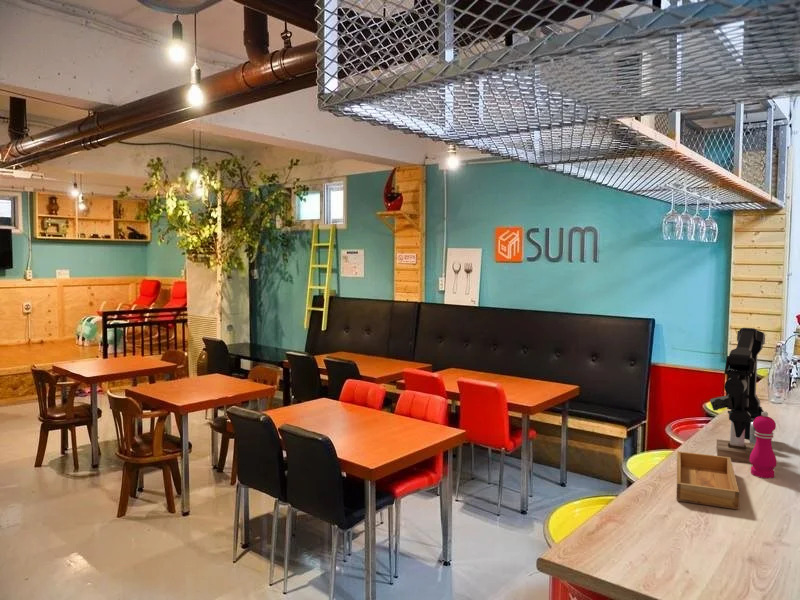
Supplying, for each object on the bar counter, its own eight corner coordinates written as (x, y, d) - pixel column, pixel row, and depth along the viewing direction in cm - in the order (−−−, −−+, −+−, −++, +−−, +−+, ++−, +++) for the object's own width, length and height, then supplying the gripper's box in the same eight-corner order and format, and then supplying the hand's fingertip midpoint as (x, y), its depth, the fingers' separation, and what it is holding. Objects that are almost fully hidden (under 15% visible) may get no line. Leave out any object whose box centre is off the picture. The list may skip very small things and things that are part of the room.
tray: (676, 466, 191) (677, 449, 191) (730, 473, 185) (730, 456, 184) (676, 503, 164) (676, 483, 163) (738, 512, 157) (739, 492, 157)
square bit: (730, 441, 203) (730, 416, 202) (743, 443, 201) (744, 417, 200) (730, 445, 199) (731, 419, 199) (744, 446, 197) (745, 420, 197)
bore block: (716, 447, 208) (716, 439, 208) (755, 452, 203) (756, 443, 203) (717, 458, 198) (717, 449, 197) (759, 463, 192) (759, 454, 192)
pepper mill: (768, 470, 186) (771, 408, 184) (781, 479, 179) (783, 414, 177) (744, 470, 186) (746, 408, 185) (756, 478, 179) (758, 414, 178)
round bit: (749, 444, 211) (749, 420, 210) (762, 446, 209) (763, 421, 208) (749, 448, 207) (750, 423, 207) (763, 449, 205) (764, 424, 205)
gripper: (711, 382, 211) (710, 425, 212) (712, 394, 194) (711, 440, 195) (747, 385, 206) (746, 429, 207) (751, 397, 189) (750, 444, 190)
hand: (737, 435), depth 200 cm, fingers closed on square bit, 4 cm apart
